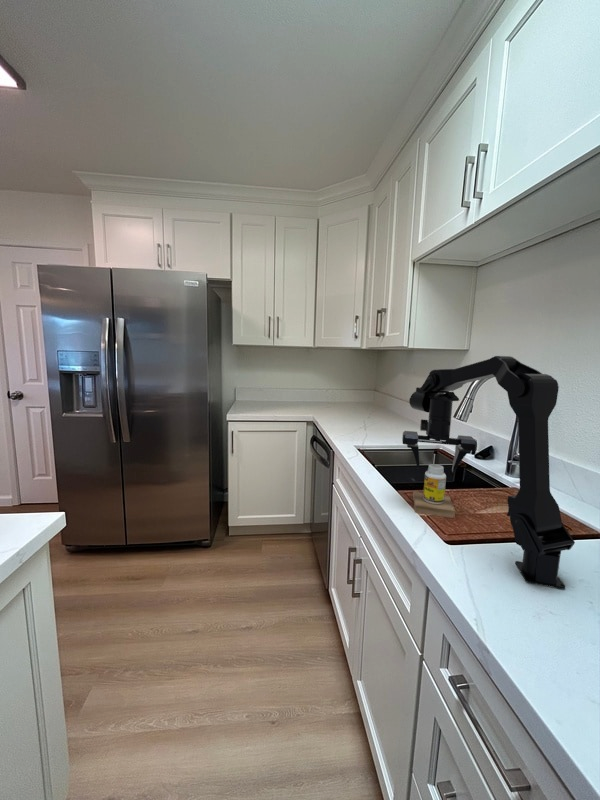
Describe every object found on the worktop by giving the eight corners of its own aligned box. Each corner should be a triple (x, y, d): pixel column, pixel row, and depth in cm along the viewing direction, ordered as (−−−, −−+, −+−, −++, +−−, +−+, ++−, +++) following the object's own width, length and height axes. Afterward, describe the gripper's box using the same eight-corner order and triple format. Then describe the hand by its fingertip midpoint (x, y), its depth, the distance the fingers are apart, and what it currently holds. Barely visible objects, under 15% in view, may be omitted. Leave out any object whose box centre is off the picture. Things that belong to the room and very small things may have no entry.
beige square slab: (454, 518, 89) (455, 511, 89) (415, 512, 92) (415, 505, 92) (448, 502, 99) (449, 496, 98) (413, 498, 101) (413, 491, 101)
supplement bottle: (418, 497, 97) (421, 463, 95) (434, 495, 98) (437, 462, 97) (431, 506, 91) (434, 470, 90) (448, 504, 93) (451, 468, 92)
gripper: (470, 413, 97) (465, 465, 99) (403, 408, 102) (400, 458, 104) (480, 420, 86) (474, 478, 89) (404, 414, 91) (400, 469, 94)
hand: (435, 470), depth 94 cm, fingers open, 9 cm apart
